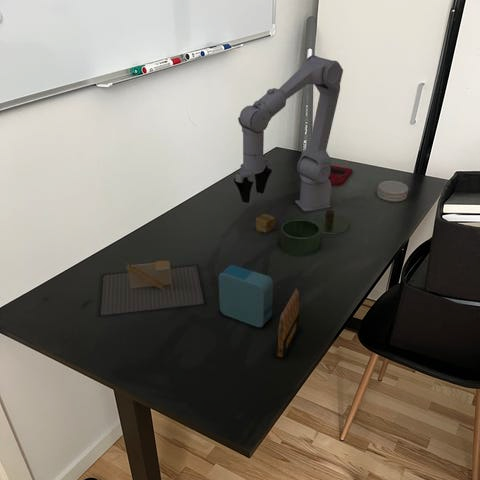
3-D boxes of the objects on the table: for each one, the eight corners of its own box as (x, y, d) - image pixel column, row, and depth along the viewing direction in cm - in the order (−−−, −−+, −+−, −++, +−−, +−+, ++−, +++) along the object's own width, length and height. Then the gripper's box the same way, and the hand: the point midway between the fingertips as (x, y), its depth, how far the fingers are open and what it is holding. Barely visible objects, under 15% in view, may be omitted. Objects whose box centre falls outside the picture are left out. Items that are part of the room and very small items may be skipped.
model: (172, 290, 129) (169, 265, 124) (130, 294, 128) (126, 269, 123) (172, 283, 131) (169, 258, 127) (130, 287, 130) (126, 262, 125)
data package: (272, 319, 119) (273, 277, 112) (263, 329, 116) (264, 287, 109) (229, 303, 124) (228, 262, 117) (219, 313, 121) (217, 272, 114)
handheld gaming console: (314, 178, 179) (328, 164, 189) (314, 182, 180) (327, 167, 190) (340, 183, 176) (352, 168, 186) (340, 187, 176) (352, 171, 187)
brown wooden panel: (290, 327, 117) (293, 285, 109) (298, 329, 116) (302, 287, 109) (275, 356, 109) (277, 313, 102) (283, 358, 109) (286, 315, 101)
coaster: (377, 188, 175) (379, 178, 173) (407, 191, 173) (409, 181, 171) (375, 200, 168) (377, 190, 166) (406, 203, 166) (408, 194, 164)
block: (265, 225, 155) (265, 213, 153) (274, 229, 153) (274, 217, 151) (256, 229, 153) (256, 218, 151) (265, 234, 151) (265, 222, 148)
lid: (336, 215, 160) (338, 200, 157) (355, 232, 151) (357, 217, 148) (302, 221, 157) (303, 206, 154) (319, 239, 148) (321, 223, 145)
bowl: (308, 232, 151) (310, 216, 148) (325, 251, 143) (327, 234, 140) (274, 239, 149) (275, 223, 145) (289, 258, 140) (290, 241, 137)
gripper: (256, 141, 147) (255, 185, 155) (226, 157, 138) (227, 202, 146) (276, 146, 144) (274, 191, 152) (247, 162, 135) (247, 208, 143)
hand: (253, 197), depth 149 cm, fingers open, 7 cm apart
